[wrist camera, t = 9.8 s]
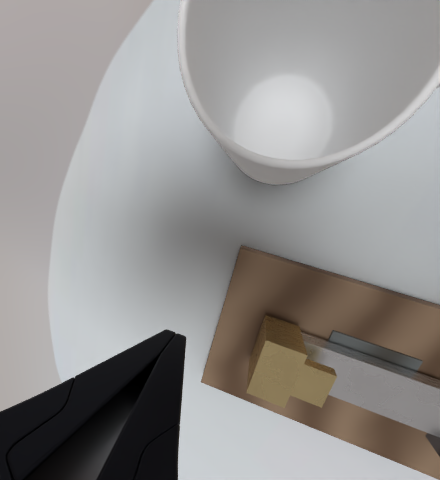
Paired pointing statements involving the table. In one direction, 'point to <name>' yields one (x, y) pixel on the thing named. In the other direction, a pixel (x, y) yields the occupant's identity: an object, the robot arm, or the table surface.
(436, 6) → the mug
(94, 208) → the table surface
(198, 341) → the table surface
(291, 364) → the gold t-shaped block
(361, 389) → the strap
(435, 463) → the base
